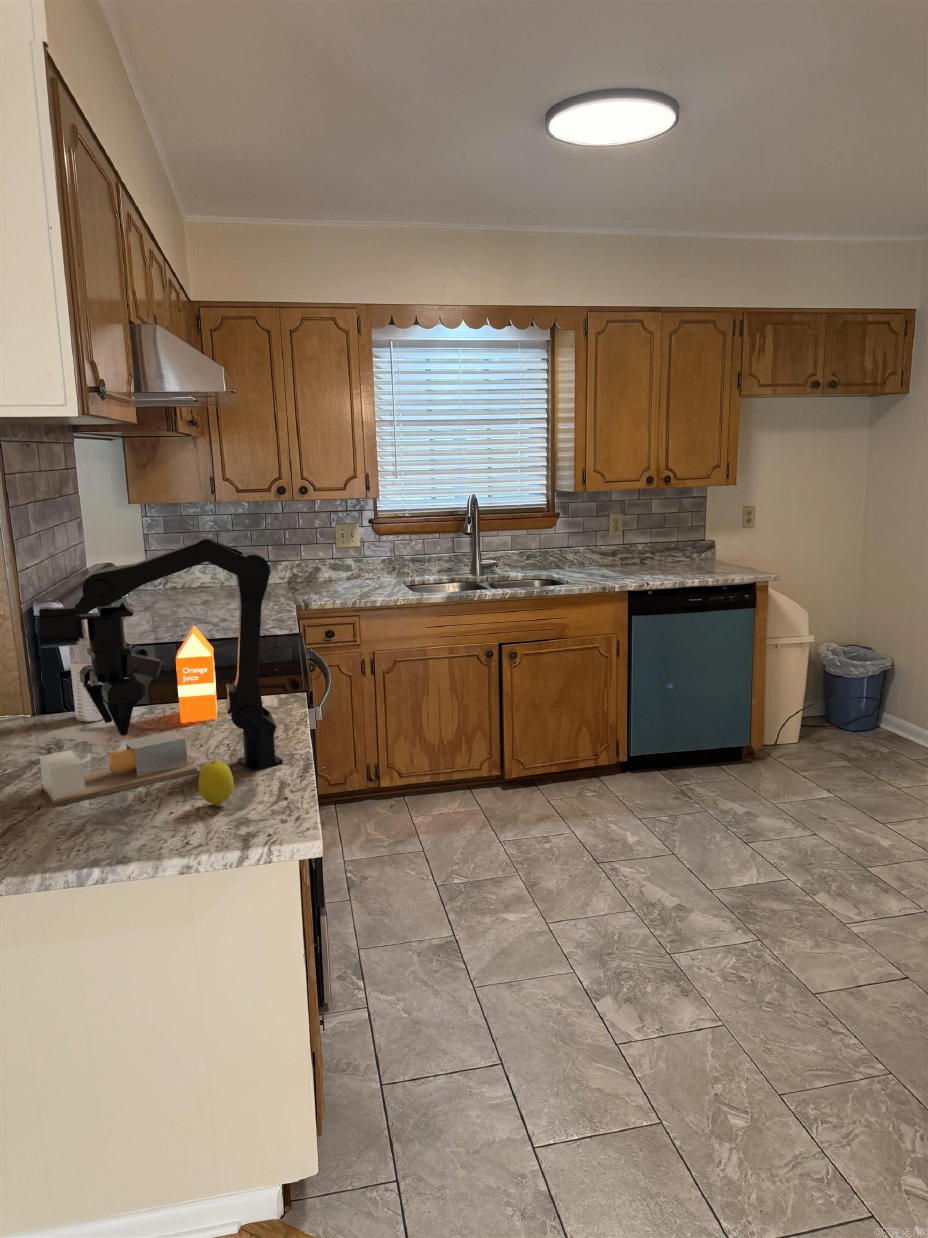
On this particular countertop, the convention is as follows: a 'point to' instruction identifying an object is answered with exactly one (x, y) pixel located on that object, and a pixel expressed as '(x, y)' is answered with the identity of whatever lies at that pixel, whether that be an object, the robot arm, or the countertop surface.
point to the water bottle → (82, 700)
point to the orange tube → (122, 760)
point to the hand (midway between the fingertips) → (116, 728)
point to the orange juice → (196, 679)
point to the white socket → (62, 774)
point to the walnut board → (119, 782)
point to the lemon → (215, 782)
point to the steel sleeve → (158, 753)
